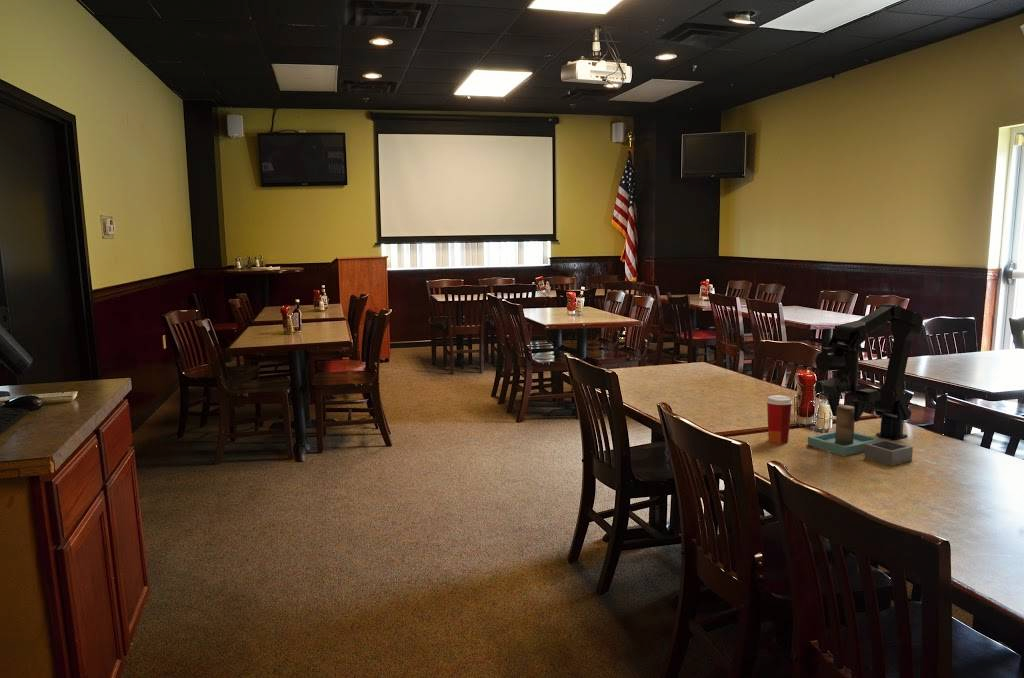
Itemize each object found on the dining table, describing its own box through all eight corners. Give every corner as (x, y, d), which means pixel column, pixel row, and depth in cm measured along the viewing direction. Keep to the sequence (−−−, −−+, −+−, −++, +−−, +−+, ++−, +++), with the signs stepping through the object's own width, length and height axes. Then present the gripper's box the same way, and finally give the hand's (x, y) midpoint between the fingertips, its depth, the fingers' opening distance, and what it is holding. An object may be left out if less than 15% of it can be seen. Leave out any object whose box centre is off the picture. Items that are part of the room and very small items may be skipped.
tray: (843, 436, 225) (844, 429, 225) (881, 447, 214) (881, 439, 213) (807, 444, 218) (807, 436, 218) (844, 456, 207) (844, 447, 206)
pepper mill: (842, 439, 219) (844, 404, 217) (857, 443, 215) (859, 408, 213) (831, 441, 217) (833, 406, 215) (845, 446, 212) (847, 410, 211)
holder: (884, 452, 209) (884, 439, 208) (912, 460, 201) (912, 446, 200) (864, 457, 205) (864, 443, 204) (891, 465, 197) (892, 451, 197)
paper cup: (787, 438, 226) (788, 394, 223) (794, 445, 218) (795, 400, 216) (761, 438, 226) (762, 394, 224) (768, 445, 219) (769, 400, 217)
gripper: (802, 365, 217) (801, 415, 219) (856, 376, 201) (853, 430, 203) (828, 361, 222) (826, 410, 224) (882, 371, 205) (880, 424, 208)
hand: (845, 418), depth 215 cm, fingers open, 7 cm apart
